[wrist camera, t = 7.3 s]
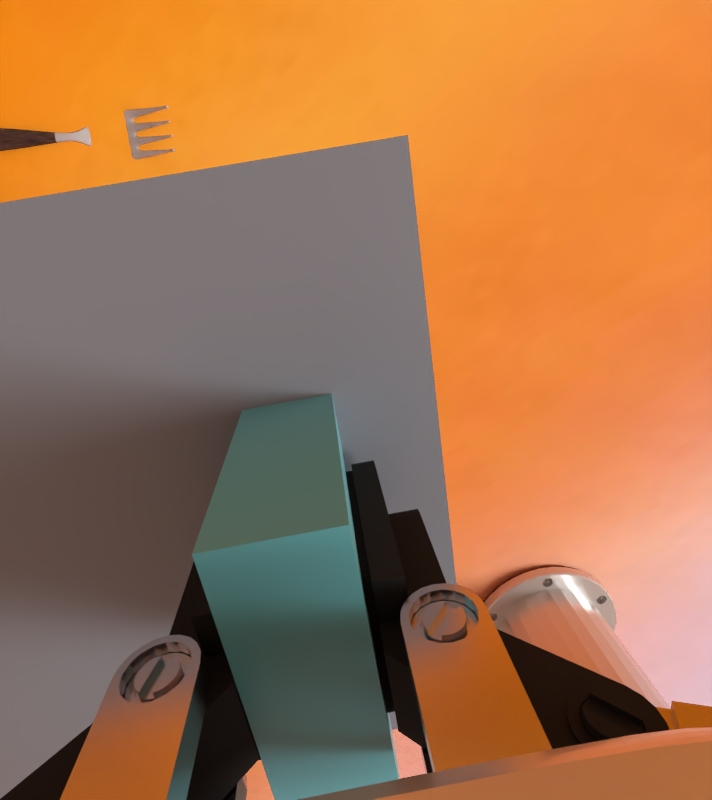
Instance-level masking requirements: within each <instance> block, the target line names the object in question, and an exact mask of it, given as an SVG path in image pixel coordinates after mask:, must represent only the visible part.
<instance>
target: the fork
mask: <svg viewBox="0 0 712 800" xmlns="http://www.w3.org/2000/svg"><path fill="white" fill-rule="evenodd" d="M166 108H168V106H163V107H154V108H144V109H134V110H125V111H124V115H125V119H126V126H127V131H128V135H129V142H130V146H131V150H132V156H133V158H134V159H141V158H146V157H151V156H155V155H160V154H164V153H168V152H172V151H175V149H170V150H151V151H141V150H139V149H138V147H139V146H140V145H142V144H146V143H150V142H154V141H158V140H162V139H166V138H169V137H173V135H167V136H152V137H137V136H136V132H138V131H140V130H144V129H148V128H152V127H156V126H159V125H163V124H166V123H170V122H171V121H161V122H150V123H134V122H133V119H134V118H135V117H138V116H142V115H145V114H149V113H153V112H156V111H159V110H162V109H166ZM64 141H77V142H81V143H84V144H86V145H89V146H91V137H90V132H89V129H88V128H87V127H85V128H83V129H81V130H79V131H77V132H73V133H53V132H41V131H30V130H18V129H2V128H0V151H4V150H12V149H19V148H26V147H32V146H38V145H44V144H50V143H57V142H64Z"/></svg>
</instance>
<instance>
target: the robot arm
mask: <svg viewBox="0 0 712 800" xmlns="http://www.w3.org/2000/svg"><path fill="white" fill-rule="evenodd" d="M351 467H352V471H347V472H346V476H347V483H348V490H349V497H350V504H351V510H352V517H353V524H354V531H355V538H356V545H357V551H358V558H359V565H360V572H361V578H362V584H363V590H364V595H365V601H366V606H367V611H368V616H369V621H370V627H371V632H372V637H373V642H374V647H375V652H376V658H377V663H378V668H379V673H380V678H381V683H382V689H383V694H384V699H385V704H386V709H387V713H390V712H395V715H396V720H397V726H398V731H399V732H401V733H402V734H404V735H405V736H407V737H408V738H410V739H411V740H413V741H414V742H416V743H417V744H419V745H420V746H421V751H422V757H423V762H424V766H425V771H426V774H422V775H417V776H412V777H407V778H402V779H397V780H392V781H387V782H382V783H377V784H372V785H367V786H362V787H357V788H352V789H347V790H342V791H337V792H332V793H327V794H322V795H317V796H313V797H308V798H303V799H298V800H712V707H710V706H703V705H696V704H689V703H682V702H675V701H672V704H671V708H670V706H669V705H668V704H667V702H666V701H665V700H664V698H663V697H662V696H661V694H660V693H659V692H658V690H657V689H656V688H655V686H654V685H653V684H652V682H651V681H650V679H649V678H648V677H647V675H646V674H645V673H644V671H643V670H642V669H641V667H640V666H639V665H638V663H637V662H636V661H635V659H634V658H633V657H632V655H631V654H630V653H629V651H628V650H627V648H626V647H625V646H624V644H623V643H622V642H621V640H620V639H619V638H618V636H617V635H616V634H615V632H614V630H615V625H616V609H615V606H614V602H613V600H612V598H611V597H610V595H609V593H608V592H607V591H606V589H605V588H604V587H603V586H602V585H601V584H600V582H599V581H597V580H596V579H595V578H593V577H592V576H591V575H589V574H587V573H585V572H582V571H580V570H577V569H572V568H568V567H547V568H539V569H536V570H532V571H529V572H525V573H523V574H521V575H519V576H516V577H514V578H512V579H511V580H509V581H507V582H506V583H504V584H503V585H501V586H500V587H499V588H498V589H497V590H495V591H494V592H493V593H492V594H491V595H490V596H489V597H488V599H487V600H486V601H485V602H483V601H482V600H481V598H480V597H479V596H478V595H476V594H475V593H474V592H472V591H471V590H470V589H467V588H465V587H462V586H459V585H454V584H448V583H446V580H445V578H444V575H443V572H442V570H441V567H440V564H439V562H438V559H437V557H436V554H435V551H434V549H433V546H432V543H431V541H430V538H429V535H428V533H427V530H426V527H425V525H424V522H423V520H422V517H421V514H420V512H419V510H418V509H413V510H408V511H403V512H397V513H392V514H388V511H387V507H386V503H385V500H384V496H383V492H382V489H381V485H380V481H379V478H378V474H377V470H376V466H375V463H374V460H373V461H367V462H362V463H356V464H351ZM257 760H261V757H260V754H259V751H258V748H257V745H256V742H255V739H254V736H253V733H252V730H251V728H250V725H249V722H248V719H247V716H246V713H245V710H244V707H243V704H242V701H241V698H240V695H239V692H238V689H237V686H236V683H235V680H234V677H233V674H232V671H231V669H230V666H229V663H228V660H227V657H226V654H225V651H224V648H223V645H222V642H221V639H220V636H219V633H218V630H217V627H216V624H215V621H214V618H213V615H212V612H211V609H210V607H209V604H208V601H207V598H206V595H205V592H204V589H203V586H202V583H201V580H200V577H199V574H198V571H197V568H196V565H195V562H193V565H192V568H191V571H190V574H189V577H188V580H187V583H186V586H185V589H184V592H183V595H182V598H181V601H180V604H179V607H178V610H177V613H176V616H175V619H174V622H173V625H172V628H171V631H170V634H169V635H168V636H164V637H161V638H158V639H155V640H153V641H151V642H149V643H147V644H145V645H143V646H141V647H140V648H139V649H137V650H136V651H135V652H133V653H132V654H131V655H129V656H128V658H127V659H126V660H125V661H124V662H123V663H122V664H121V665H120V666H119V668H118V669H117V671H116V673H115V674H114V676H113V678H112V680H111V682H110V684H109V686H108V689H107V691H106V693H105V696H104V698H103V700H102V703H101V705H100V707H99V710H98V712H97V714H96V717H95V719H94V721H93V723H92V724H91V725H90V726H88V727H87V728H86V729H85V730H84V731H82V732H81V733H80V734H79V735H77V736H76V737H75V738H74V739H73V740H71V741H70V742H69V743H68V744H66V745H65V746H64V747H63V748H62V749H60V750H59V751H58V752H57V753H56V754H54V755H53V756H52V757H51V758H49V759H48V760H47V761H46V762H45V763H43V764H42V765H41V766H40V767H38V768H37V769H36V770H35V771H34V772H32V773H31V774H30V775H29V776H27V777H26V778H25V779H24V780H23V781H21V782H20V783H19V784H18V785H16V786H15V787H14V788H13V789H12V790H10V791H9V792H8V793H7V794H5V795H4V796H3V797H2V798H1V799H0V800H246V795H247V778H246V775H245V774H246V773H247V772H248V770H249V769H250V768H251V767H252V766H253V765H254V764H255V763H256V761H257Z"/></svg>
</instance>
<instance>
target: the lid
mask: <svg viewBox="0 0 712 800" xmlns="http://www.w3.org/2000/svg"><path fill="white" fill-rule="evenodd" d="M373 460H374V463H375V466H376V470H377V474H378V478H379V481H380V485H381V489H382V492H383V496H384V500H385V503H386V507H387V511H388V514H392V513H397V512H403V511H408V510H413V509H418V510H419V512H420V514H421V517H422V520H423V522H424V525H425V527H426V530H427V533H428V535H429V538H430V541H431V543H432V546H433V549H434V551H435V554H436V557H437V559H438V562H439V564H440V567H441V570H442V572H443V575H444V578H445V580H446V583H448V584H454V585H456V577H455V568H454V559H453V549H452V540H451V531H450V522H449V512H448V503H447V494H446V485H445V475H444V466H443V457H442V448H441V438H440V429H439V420H438V411H437V401H436V392H435V383H434V374H433V364H432V355H431V346H430V337H429V327H428V318H427V309H426V300H425V290H424V281H423V272H422V263H421V253H420V244H419V235H418V226H417V216H416V207H415V198H414V189H413V179H412V170H411V161H410V152H409V142H408V135H406V136H400V137H394V138H388V139H382V140H376V141H370V142H364V143H358V144H352V145H346V146H340V147H334V148H328V149H322V150H316V151H310V152H304V153H298V154H292V155H286V156H280V157H274V158H268V159H262V160H256V161H250V162H244V163H238V164H232V165H226V166H220V167H214V168H208V169H202V170H196V171H190V172H184V173H178V174H172V175H166V176H160V177H154V178H148V179H142V180H136V181H130V182H124V183H118V184H112V185H106V186H100V187H94V188H88V189H82V190H76V191H70V192H64V193H58V194H52V195H46V196H40V197H34V198H28V199H22V200H16V201H10V202H4V203H0V799H1V798H2V797H3V796H4V795H5V794H7V793H8V792H9V791H10V790H12V789H13V788H14V787H15V786H16V785H18V784H19V783H20V782H21V781H23V780H24V779H25V778H26V777H27V776H29V775H30V774H31V773H32V772H34V771H35V770H36V769H37V768H38V767H40V766H41V765H42V764H43V763H45V762H46V761H47V760H48V759H49V758H51V757H52V756H53V755H54V754H56V753H57V752H58V751H59V750H60V749H62V748H63V747H64V746H65V745H66V744H68V743H69V742H70V741H71V740H73V739H74V738H75V737H76V736H77V735H79V734H80V733H81V732H82V731H84V730H85V729H86V728H87V727H88V726H90V725H91V724H92V723H93V721H94V719H95V717H96V714H97V712H98V710H99V707H100V705H101V703H102V700H103V698H104V696H105V693H106V691H107V689H108V686H109V684H110V682H111V680H112V678H113V676H114V674H115V673H116V671H117V669H118V668H119V666H120V665H121V664H122V663H123V662H124V661H125V660H126V659H127V658H128V656H129V655H131V654H132V653H133V652H135V651H136V650H137V649H139V648H140V647H141V646H143V645H145V644H147V643H149V642H151V641H153V640H155V639H158V638H161V637H164V636H168V635H169V634H170V631H171V628H172V625H173V622H174V619H175V616H176V613H177V610H178V607H179V604H180V601H181V598H182V595H183V592H184V589H185V586H186V583H187V580H188V577H189V574H190V571H191V568H192V565H193V562H195V565H196V568H197V571H198V574H199V577H200V580H201V583H202V586H203V589H204V592H205V595H206V598H207V601H208V604H209V607H210V609H211V612H212V615H213V618H214V621H215V624H216V627H217V630H218V633H219V636H220V639H221V642H222V645H223V648H224V651H225V654H226V657H227V660H228V663H229V666H230V669H231V671H232V674H233V677H234V680H235V683H236V686H237V689H238V692H239V695H240V698H241V701H242V704H243V707H244V710H245V713H246V716H247V719H248V722H249V725H250V728H251V730H252V733H253V736H254V739H255V742H256V745H257V748H258V751H259V754H260V757H261V760H262V763H263V766H264V769H265V772H266V775H267V778H268V781H269V784H270V787H271V790H272V792H273V795H274V798H275V800H298V799H303V798H308V797H313V796H317V795H322V794H327V793H332V792H337V791H342V790H347V789H352V788H357V787H362V786H367V785H372V784H377V783H382V782H387V781H392V780H397V779H400V776H399V770H398V764H397V758H396V752H395V745H394V739H393V733H392V729H397V728H398V726H397V720H396V715H395V712H390V713H387V709H386V704H385V699H384V694H383V689H382V683H381V678H380V673H379V668H378V663H377V658H376V652H375V647H374V642H373V637H372V632H371V627H370V621H369V616H368V611H367V606H366V601H365V595H364V590H363V584H362V578H361V572H360V565H359V558H358V551H357V545H356V538H355V531H354V524H353V517H352V510H351V504H350V497H349V490H348V483H347V476H346V472H347V471H352V467H351V464H356V463H362V462H367V461H373Z"/></svg>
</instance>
